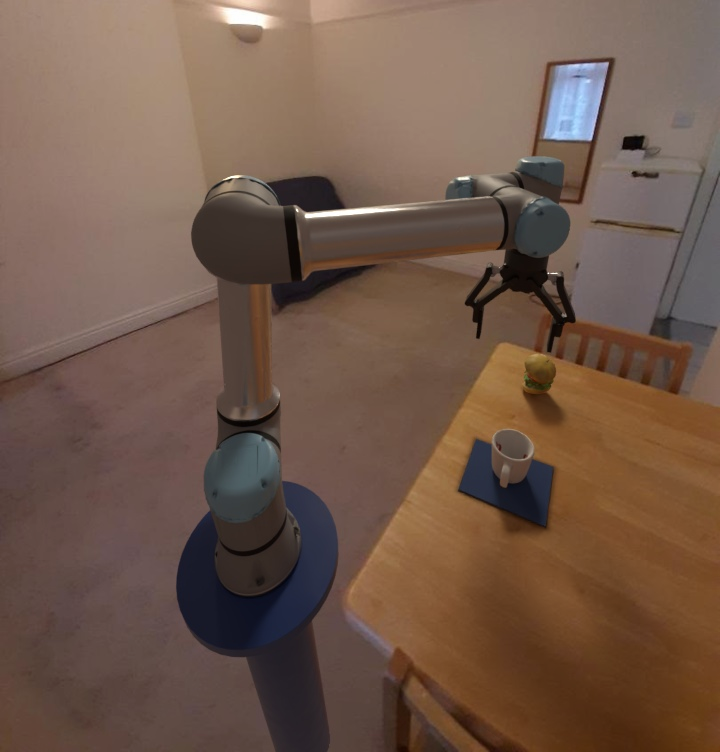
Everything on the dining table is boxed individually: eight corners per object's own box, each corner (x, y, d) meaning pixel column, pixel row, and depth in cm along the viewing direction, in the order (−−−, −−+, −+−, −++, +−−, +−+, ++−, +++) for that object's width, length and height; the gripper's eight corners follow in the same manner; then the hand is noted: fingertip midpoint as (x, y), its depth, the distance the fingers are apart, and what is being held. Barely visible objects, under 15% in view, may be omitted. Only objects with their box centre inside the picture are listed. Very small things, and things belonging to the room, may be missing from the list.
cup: (522, 508, 76) (528, 479, 72) (479, 490, 79) (483, 461, 76) (531, 465, 84) (537, 437, 81) (492, 450, 88) (497, 422, 84)
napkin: (458, 490, 80) (458, 489, 80) (475, 439, 91) (475, 438, 91) (545, 527, 73) (545, 526, 73) (553, 467, 84) (553, 466, 84)
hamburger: (535, 379, 108) (542, 342, 103) (557, 396, 102) (566, 357, 97) (513, 388, 105) (520, 350, 100) (535, 406, 99) (543, 367, 94)
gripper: (455, 244, 75) (448, 339, 84) (609, 262, 66) (582, 366, 75) (462, 231, 81) (454, 321, 90) (603, 245, 72) (579, 343, 81)
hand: (512, 341), depth 82 cm, fingers open, 13 cm apart
